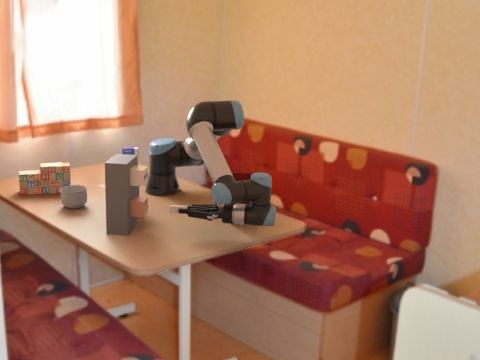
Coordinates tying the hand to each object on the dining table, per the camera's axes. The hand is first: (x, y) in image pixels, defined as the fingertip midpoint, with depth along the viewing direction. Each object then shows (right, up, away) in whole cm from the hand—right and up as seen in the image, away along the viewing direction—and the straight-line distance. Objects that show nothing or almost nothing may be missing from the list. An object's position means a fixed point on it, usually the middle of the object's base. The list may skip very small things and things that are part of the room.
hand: (170, 208), depth 238 cm
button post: (-19, -7, +4) cm, 21 cm away
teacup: (-42, 0, +28) cm, 51 cm away
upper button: (-13, +9, -1) cm, 16 cm away
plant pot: (+28, -5, +19) cm, 35 cm away
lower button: (-13, -2, +2) cm, 14 cm away
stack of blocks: (-60, +5, +45) cm, 75 cm away
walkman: (-29, +15, +82) cm, 88 cm away
